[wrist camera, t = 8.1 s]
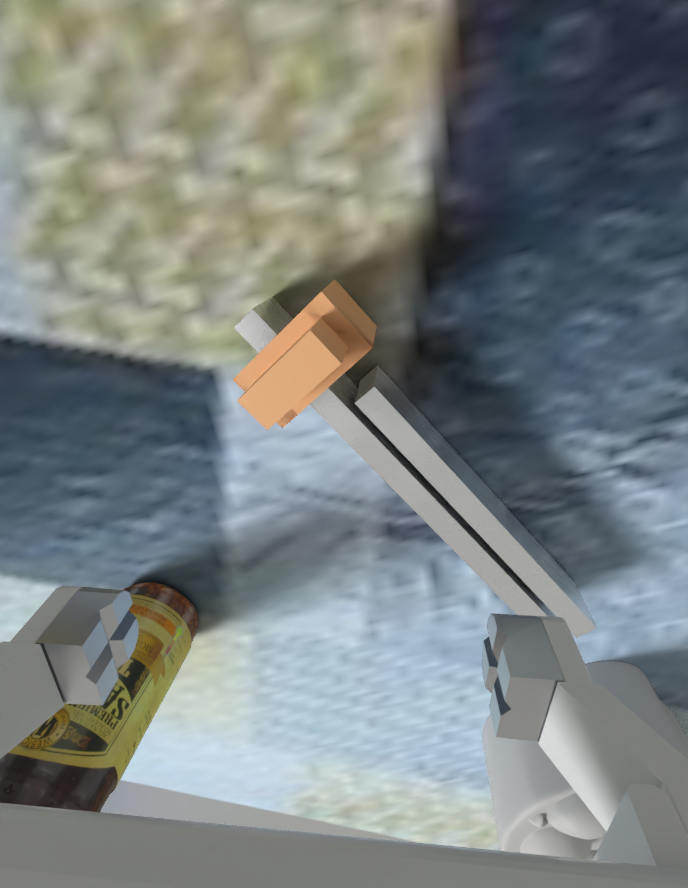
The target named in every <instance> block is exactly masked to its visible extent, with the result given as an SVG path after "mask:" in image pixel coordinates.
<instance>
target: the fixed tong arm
mask: <svg viewBox="0 0 688 888" xmlns="http://www.w3.org/2000/svg"><path fill="white" fill-rule="evenodd" d="M292 320H293V318H292V317H291V316H290V315H289V313H288V312H287V311H286V310H285V309H284V308H283V307H282V306H281V305H280V304H279V303H278V302H277V301H276V300H275V299H274V298H273V297H271V298H269V299H268V300H266V301H264V302H263V303H261V304H259V305H258V306H256V307H255V308H253V309H252V310H251V311H250V312H249V313H248V314H247V315H246V316H245V317H244V318H243V319H242V320H241V321H240V322H239V323H238V324H237V325H236V327H235V329H236V330H237V331H238V332H239V333H240V334H241V335H242V336H243V337H244V338H245V339H246V340H247V341H248V342H249V344H250V345H251V346H252V347H253V348H254V349H255V350H256V351H257V352H258V353H260V352H261V351H262V350H263V349H264V348H265V347H266V346H267V345H268V344H269V343H270V342H271V341H272V340H273V339H274V338H275V337H276V336H277V335H278V334H279V333H280V332H281V331H282V330H283V329H284V328H285V327H286V326H287V325H288V324H289V323H290V322H291V321H292ZM357 392H358V387H357V386H356V385H355V384H354V383H353V382H352V381H351V379H350V378H349V377H348V376H347V375H346V374H345V373H344V374H343V375H342V376H341V377H339V378H338V379H337V380H336V381H335V382H334V383H333V384H332V385H330V386H329V387H328V388H327V389H326V390H325V391H324V392H323V393H321V394H320V395H319V396H318V397H317V398H316V399H315V400H314V401H312V402H311V403H310V405H311V406H312V407H313V408H314V409H315V410H316V411H317V412H318V413H319V414H320V415H321V416H322V418H323V419H324V420H325V421H326V422H327V423H328V424H329V425H330V426H331V427H332V428H333V429H334V430H335V431H336V432H337V433H338V434H339V435H340V436H341V437H342V438H343V439H344V440H345V441H346V442H347V443H348V444H349V445H350V446H351V447H352V448H353V449H354V450H355V451H356V452H357V453H358V454H359V455H360V456H361V457H362V458H363V459H364V460H365V461H366V462H367V463H368V464H369V465H370V466H371V467H372V468H373V469H374V470H375V471H376V472H377V473H378V474H379V475H380V476H381V477H382V478H383V479H384V480H385V481H386V482H387V483H388V484H389V485H390V486H391V487H392V488H393V489H394V491H395V492H396V493H397V494H398V495H399V496H400V497H401V498H402V499H403V500H404V501H405V502H406V503H407V504H408V505H409V506H410V507H411V508H412V509H413V510H414V511H415V512H416V513H417V514H418V515H419V516H420V517H421V518H422V519H423V520H424V521H425V522H426V523H427V524H428V525H429V526H430V527H431V528H432V529H433V530H434V531H435V532H436V533H437V534H438V535H439V536H440V537H441V538H442V539H443V540H444V541H445V542H446V543H447V544H448V545H449V546H450V547H451V548H452V549H453V550H454V551H455V552H456V553H457V554H458V555H459V556H460V557H461V558H462V559H463V560H464V561H465V562H466V564H467V565H468V566H469V567H470V568H471V569H472V570H473V571H474V572H475V573H476V574H477V575H478V576H479V577H480V578H481V579H482V580H483V581H484V582H485V583H486V584H487V585H488V586H489V587H490V588H491V589H492V590H493V591H494V592H495V593H496V594H497V595H498V596H499V597H500V598H501V599H502V600H503V601H504V602H505V603H506V604H507V605H508V606H509V607H510V608H511V609H512V610H513V611H514V612H515V613H516V614H517V615H529V616H548V617H557V616H556V615H555V614H554V613H553V612H552V611H551V610H550V609H549V608H548V607H547V606H546V605H545V604H544V603H543V602H542V601H541V600H540V599H539V597H538V596H537V595H536V594H535V593H534V592H533V591H532V590H531V589H530V588H529V587H528V586H527V585H526V584H525V583H524V582H523V581H522V580H521V578H520V577H519V576H518V575H517V574H516V573H515V572H514V571H513V570H512V569H511V568H510V567H509V566H508V565H507V564H506V563H505V562H504V561H503V559H502V558H501V557H500V556H499V555H498V554H497V553H496V552H495V551H494V550H493V549H492V548H491V547H490V546H489V545H488V544H487V543H486V542H485V540H484V539H483V538H482V537H481V536H480V535H479V534H478V533H477V532H476V531H475V530H474V529H473V528H472V527H471V526H470V525H469V524H468V522H467V521H466V520H465V519H464V518H463V517H462V516H461V515H460V514H459V513H458V512H457V511H456V510H455V509H454V508H453V507H452V506H451V505H450V503H449V502H448V501H447V500H446V499H445V498H444V497H443V496H442V495H441V494H440V493H439V492H438V491H437V490H436V489H435V488H434V487H433V486H432V484H431V483H430V482H429V481H428V480H427V479H426V478H425V477H424V476H423V475H422V474H421V473H420V472H419V471H418V470H417V469H416V468H415V467H414V465H413V464H412V463H411V462H410V461H409V460H408V459H407V458H406V457H405V456H404V455H403V454H402V453H401V452H400V451H399V450H398V449H397V448H396V446H395V445H394V444H393V443H392V442H391V441H390V440H389V439H388V438H387V437H386V436H385V435H384V434H383V433H382V432H381V431H380V430H379V428H378V427H377V426H376V425H375V424H374V423H373V422H372V421H371V420H370V419H369V418H368V417H367V416H366V415H365V414H364V413H363V412H362V411H361V409H360V408H359V407H358V406H357V405H356V404H355V400H356V396H357Z"/></svg>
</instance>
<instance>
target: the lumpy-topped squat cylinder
mask: <svg viewBox="0 0 688 888" xmlns="http://www.w3.org/2000/svg"><path fill="white" fill-rule="evenodd" d="M585 665H586V668H587V670H588V672H589V674H590V677H591V679H592V681H593V683H594V684H598V685H602V686H603V687H604V688H606V689H607V690H608V691H609V692H610V693H611V694H613V695H614V696H615V697H616V698H617V699H618V700H620V701H621V702H622V703H623V704H624V705H625V706H626V707H628V708H629V709H630V710H631V711H632V712H633V713H635V714H636V715H637V716H638V717H639V718H640V719H642V720H643V721H644V722H645V723H646V724H647V725H648V726H650V727H651V728H652V729H653V730H654V731H655V732H657V733H658V734H659V735H660V736H661V737H662V738H664V739H665V740H666V741H667V742H668V743H669V744H671V745H672V746H673V747H674V748H675V749H676V750H677V751H679V752H680V753H681V754H682V755H683V756H684V757H686V758H687V759H688V738H687V736H686V734H685V733H684V731H683V729H682V727H681V725H680V724H679V722H678V720H677V718H676V716H675V715H674V713H673V712H672V711H671V710H670V709H669V708H668V707H667V706H666V705H665V704H664V703H663V702H661V701H660V700H659V699H658V697H657V695H656V693H655V691H654V690H653V688H652V686H651V684H650V682H649V680H648V678H647V677H646V675H645V674H644V673H643V671H642V670H640V669H639V668H638V667H636V666H634V665H632V664H629V663H624V662H618V661H598V662H592V663H587V664H585ZM482 741H483V747H484V753H485V759H486V766H487V772H488V778H489V785H490V791H491V797H492V803H493V809H494V815H495V821H496V827H497V833H498V839H499V844H500V849H501V851H507V852H517V853H527V854H538V855H548V856H559V857H569V858H579V859H590V860H593V859H594V857H595V855H596V853H597V851H598V849H599V847H600V845H601V843H602V840H603V838H604V836H605V834H606V830H605V829H604V828H603V827H602V825H601V824H600V823H599V821H598V820H597V819H596V818H595V816H594V815H593V814H592V812H591V811H590V810H589V809H588V807H587V806H586V805H585V803H584V802H583V801H582V800H581V798H580V797H579V796H578V794H577V793H576V792H575V791H574V789H573V788H572V787H571V785H570V784H569V783H568V782H567V780H566V779H565V778H564V776H563V775H562V774H561V773H560V771H559V770H558V769H557V767H556V766H555V765H554V764H553V762H552V761H551V760H550V758H549V757H548V756H547V755H546V753H545V752H544V751H543V749H542V748H541V747H540V745H539V742H535V741H526V740H517V739H508V738H499V737H496V735H495V731H494V726H493V721H492V717H491V714H490V715H489V716H488V718H487V720H486V722H485V724H484V728H483V733H482Z"/></svg>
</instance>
